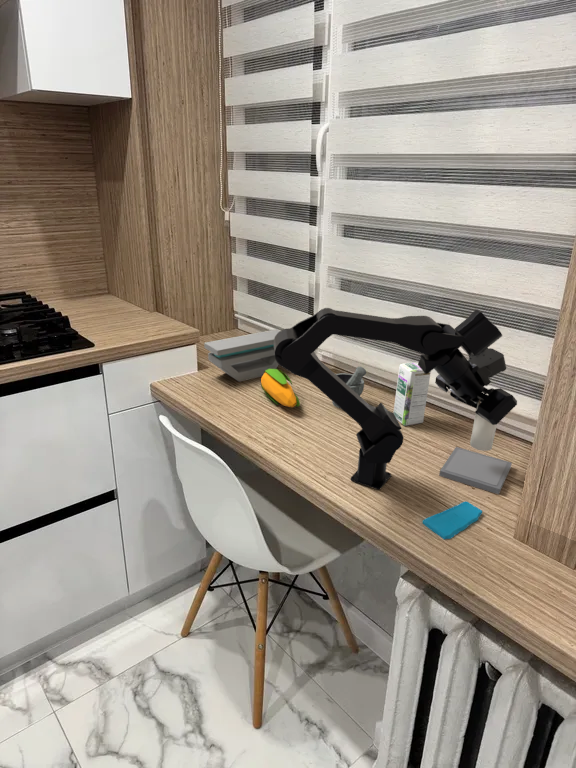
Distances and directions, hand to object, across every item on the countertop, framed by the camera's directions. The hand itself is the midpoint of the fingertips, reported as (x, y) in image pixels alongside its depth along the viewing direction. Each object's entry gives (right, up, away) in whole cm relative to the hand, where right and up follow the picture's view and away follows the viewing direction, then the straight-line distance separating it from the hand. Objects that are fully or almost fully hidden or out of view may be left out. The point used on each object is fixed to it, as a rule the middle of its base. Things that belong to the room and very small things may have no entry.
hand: (492, 414), depth 109 cm
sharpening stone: (-54, +9, +51) cm, 75 cm away
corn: (-44, +2, +34) cm, 56 cm away
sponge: (-11, -19, -12) cm, 25 cm away
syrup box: (-12, -3, +26) cm, 28 cm away
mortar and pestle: (-26, +1, +33) cm, 42 cm away
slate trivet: (-2, -12, +4) cm, 13 cm away
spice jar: (-1, -7, +2) cm, 7 cm away
